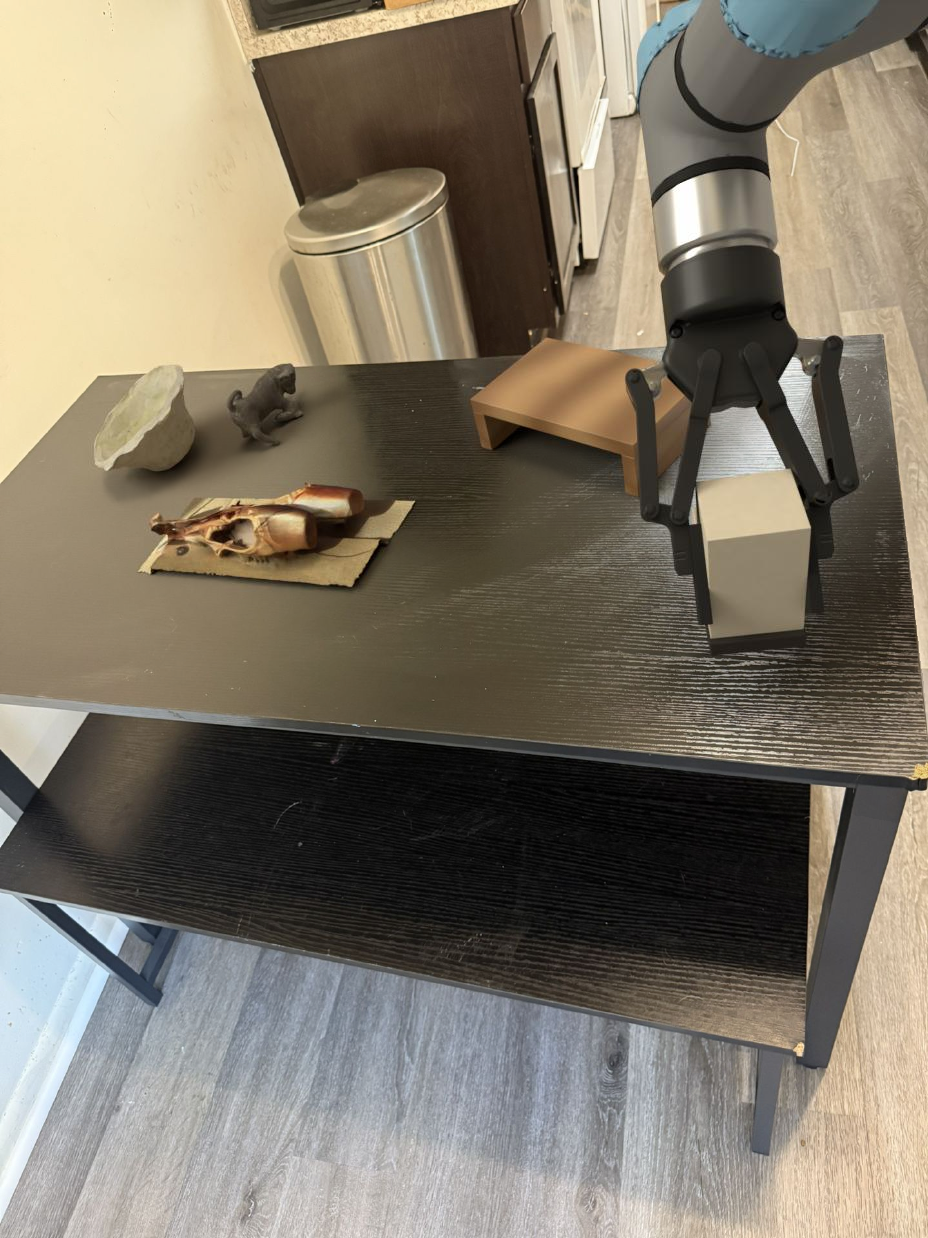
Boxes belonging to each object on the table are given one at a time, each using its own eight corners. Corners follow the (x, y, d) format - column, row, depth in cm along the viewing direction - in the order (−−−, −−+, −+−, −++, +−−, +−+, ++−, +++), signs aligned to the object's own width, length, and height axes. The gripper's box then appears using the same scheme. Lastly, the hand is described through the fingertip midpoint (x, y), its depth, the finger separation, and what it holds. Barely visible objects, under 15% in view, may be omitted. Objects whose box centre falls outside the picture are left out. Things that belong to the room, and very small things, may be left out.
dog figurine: (269, 454, 102) (244, 400, 97) (233, 449, 105) (207, 396, 100) (324, 398, 109) (303, 344, 104) (289, 394, 111) (267, 342, 106)
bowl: (112, 448, 112) (71, 380, 105) (215, 414, 112) (181, 343, 105) (105, 513, 101) (59, 441, 94) (220, 475, 101) (182, 401, 94)
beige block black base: (806, 646, 58) (814, 532, 51) (710, 656, 59) (706, 546, 52) (774, 540, 66) (778, 428, 59) (691, 550, 67) (685, 442, 60)
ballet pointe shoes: (350, 543, 76) (98, 537, 86) (372, 595, 81) (131, 584, 91) (398, 447, 85) (164, 451, 94) (416, 499, 89) (191, 498, 99)
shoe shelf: (711, 424, 87) (709, 371, 83) (638, 497, 82) (633, 444, 78) (554, 385, 99) (546, 337, 95) (481, 447, 93) (469, 399, 89)
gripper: (859, 259, 58) (899, 602, 58) (576, 311, 62) (612, 633, 62) (891, 209, 51) (937, 601, 50) (567, 271, 55) (609, 636, 54)
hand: (758, 618), depth 56 cm, fingers closed on beige block black base, 6 cm apart
